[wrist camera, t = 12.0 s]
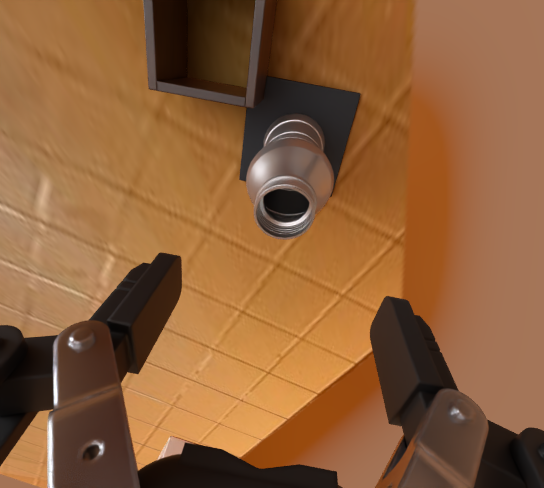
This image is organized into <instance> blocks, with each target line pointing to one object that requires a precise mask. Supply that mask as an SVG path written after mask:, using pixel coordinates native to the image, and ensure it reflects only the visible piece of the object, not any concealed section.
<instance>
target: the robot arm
mask: <svg viewBox="0 0 544 488" xmlns="http://www.w3.org/2000/svg"><path fill="white" fill-rule="evenodd" d="M181 288H182V268H181V257H180V256H177V255H172V254H167V253H159V254H158V255H157V256H156V258H155V259H154V260H153V262H152V263H151V264H148V263H142V264H141V265H139V266H137V267H135V268H134V269H132V270H131V271H130V272H129V273H128V274H127V276H126V277H125V278H124V279H123V281H122V282H121V283H120V284H119V285H118V286H117V289H115V290H114V291H113V292H112V293H111V295H110V296H109V297H108V298H107V299H106V300H105V302H104V303H103V304H102V305H101V306H100V307H99V309H98V310H97V311H96V312H95V313H94V315H93V316H92V317H91V318H90V319H89V320H88V321H82V322H79V323H76V324H73V325H71V326H69V327H67V328H66V329H65V330H63V331H62V332H61V333H60V334H59V335H55V336H44V337H31V338H24V337H23V335H22V333H21V331H20V330H19V329H18V328H16V327H14V326H8V325H1V326H0V466H1V464H2V463H3V462H4V460H5V459H6V457H7V456H8V454H9V453H10V452H11V450H12V449H13V447H14V446H15V445H16V443H17V442H18V440H19V439H20V437H21V436H22V435H23V433H24V432H25V430H26V429H27V427H28V426H29V425H30V423H31V422H32V420H33V419H34V417H35V416H36V415H37V413H38V412H39V411H44V410H51V409H53V411H51V412H50V413H49V416H48V488H342V487H341V486H339V485H338V482H337V472H336V471H330V470H325V469H320V468H315V467H310V466H305V465H291V466H283V467H274V468H266V469H259V468H256V467H254V466H252V465H250V464H249V463H247V462H245V461H243V460H241V459H239V458H237V457H235V456H234V455H232V454H230V453H228V452H226V451H224V450H222V449H217V448H212V447H207V446H202V445H197V444H192V443H186V442H185V444H184V447H183V450H182V453H181V454H176V455H171V456H167V457H164V458H161V459H159V460H156V461H154V462H152V463H150V464H148V465H146V466H145V467H143V468H142V469H140V470H139V471H138V468H137V463H136V458H135V453H134V448H133V443H132V438H131V433H130V428H129V423H128V418H127V412H126V407H125V402H124V397H123V392H122V387H121V382H122V380H123V379H124V377H125V375H126V374H127V372H129V373H135V374H139V372H140V370H141V368H142V367H143V365H144V363H145V361H146V359H147V357H148V356H149V354H150V352H151V350H152V348H153V346H154V345H155V343H156V341H157V339H158V337H159V335H160V333H161V332H162V330H163V328H164V326H165V324H166V322H167V321H168V319H169V317H170V315H171V313H172V311H173V310H174V308H175V306H176V304H177V302H178V300H179V297H180V294H181ZM370 340H371V345H372V349H373V354H374V358H375V363H376V367H377V372H378V376H379V381H380V385H381V389H382V394H383V399H384V403H385V408H386V412H387V417H388V420H389V424H393V425H398V426H402V429H403V433H404V435H403V436H402V437H401V439H400V441H399V443H398V445H397V447H396V449H395V450H394V453H393V454H392V456H391V458H390V460H389V462H388V464H387V466H386V468H385V470H384V472H383V473H382V476H381V477H380V479H379V481H378V483H377V485H376V487H375V488H544V431H542V430H540V429H537V428H526V429H525V430H523V431H522V432H521V433H520V434H516V433H514V432H512V431H509V430H508V429H505V428H503V427H501V426H499V425H497V424H495V423H493V422H491V421H489V420H487V419H486V416H485V415H484V413H483V411H482V410H481V409H480V407H479V406H478V405H477V404H476V403H475V402H474V401H473V400H472V399H470V398H469V397H468V396H466V395H465V394H463V393H461V392H459V390H458V389H457V386H456V384H455V383H454V380H453V377H452V375H451V373H450V371H449V368H448V366H447V365H446V362H445V360H444V357H443V355H442V353H441V352H440V349H439V346H438V344H437V342H435V338H434V336H433V333H432V331H431V329H430V327H429V326H428V325H427V324H426V323H425V321H424V320H423V319H422V318H421V317H420V316H417V315H414V313H413V310H412V308H411V305H410V303H409V301H407V300H405V299H400V298H395V297H389V296H386V297H385V298H384V300H383V302H382V304H381V306H380V308H379V310H378V312H377V314H376V316H375V318H374V320H373V322H372V325H371V329H370Z"/></svg>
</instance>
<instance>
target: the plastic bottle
mask: <svg viewBox="0 0 544 488" xmlns="http://www.w3.org/2000/svg"><path fill="white" fill-rule="evenodd" d="M324 146H325V140H324V135H323V131H322V129H321V128H320V126H319V125H318V124H317V122H316V121H314V120H313V119H312V118H310V117H308V116H306V115H303V114H294V113H293V114H287V115H284V116H282V117H280V118H278V119H277V120H275V121H274V122H273V123H272V124H271V125H270V127H269V128H268V130H267V132H266V134H265V137H264V147H263V148H262V149H261V150H260V151H259V152H258V153H257V154H256V156H255V157H254V159H253V160H252V161H251V163H250V166H249V168H248V171H247V176H246V186H247V190H248V194H249V197H250V199H251V201H252V203H253V205H254V218H255V221H256V223H257V225H258V227H259V228H260V229H261V230H262V231H263V232H264V233H265V234H267V235H269V236H271V237H273V238H277V239H292V238H296V237H298V236H300V235H302V234H303V233H305V232H306V231H307V230H308V229H309V228H310V226H311V225H312V223H313V220H314V218H315V215H316V214H317V213H318V212H319V211H320V210H321V209H322V208H323V207H324V206H325V204H326V202H327V201H328V199H329V198H330V196H331V193H332V190H333V185H334V173H333V170H332V166H331V164H330V162H329V160H328V158H327V157H326V155H325V154H324V153H323V151H324Z"/></svg>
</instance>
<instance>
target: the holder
mask: <svg viewBox="0 0 544 488" xmlns="http://www.w3.org/2000/svg"><path fill="white" fill-rule="evenodd" d="M143 1H144V18H145V35H146V51H147V68H148V85H149V89H151V90H156V91H161V92H166V93H172V94H177V95H183V96H188V97H193V98H199V99H204V100H209V101H215V102H220V103H225V104H231V105H236V106H242V107H247V108H254V107H256V106H257V105H258V104H259V103H260V102H261V101H262V100H264V94H265V86H266V78H267V75H268V67H269V59H270V51H271V44H272V36H273V28H274V20H275V13H276V5H277V0H255V10H254V20H253V31H252V41H251V51H250V61H249V71H248V81H247V88H244V87H239V86H233V85H228V84H222V83H217V82H212V81H206V80H201V79H196V78H190V77H187V0H143Z"/></svg>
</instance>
